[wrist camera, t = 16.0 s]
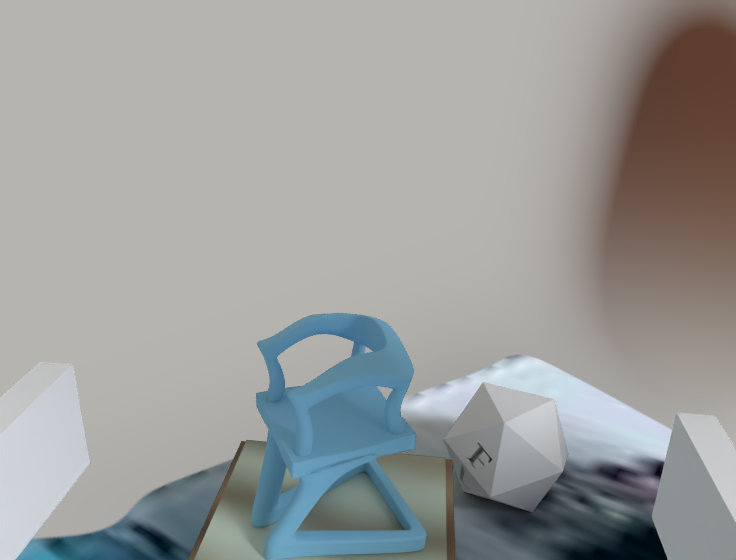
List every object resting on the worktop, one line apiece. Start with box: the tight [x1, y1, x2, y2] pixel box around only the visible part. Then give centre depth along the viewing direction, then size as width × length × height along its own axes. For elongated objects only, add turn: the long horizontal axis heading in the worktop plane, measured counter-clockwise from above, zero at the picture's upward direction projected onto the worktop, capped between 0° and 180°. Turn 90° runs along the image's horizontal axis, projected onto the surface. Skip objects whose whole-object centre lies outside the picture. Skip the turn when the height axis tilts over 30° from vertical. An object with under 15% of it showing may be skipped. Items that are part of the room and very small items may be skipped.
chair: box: [251, 313, 426, 560], centre depth 35 cm, size 8×8×12 cm
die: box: [444, 382, 568, 512], centre depth 48 cm, size 8×9×10 cm
